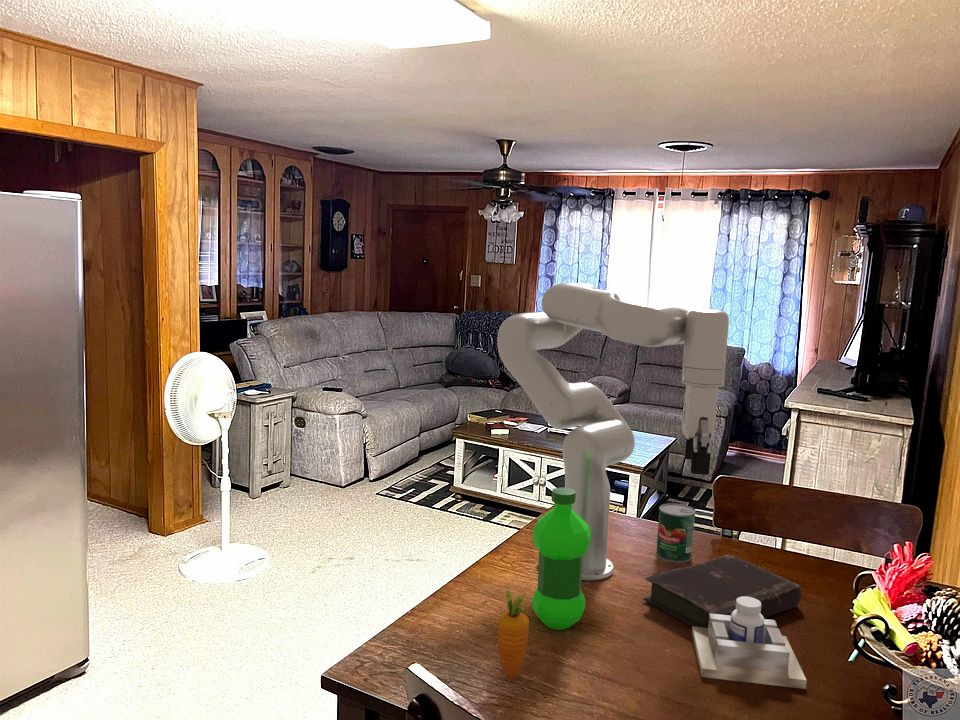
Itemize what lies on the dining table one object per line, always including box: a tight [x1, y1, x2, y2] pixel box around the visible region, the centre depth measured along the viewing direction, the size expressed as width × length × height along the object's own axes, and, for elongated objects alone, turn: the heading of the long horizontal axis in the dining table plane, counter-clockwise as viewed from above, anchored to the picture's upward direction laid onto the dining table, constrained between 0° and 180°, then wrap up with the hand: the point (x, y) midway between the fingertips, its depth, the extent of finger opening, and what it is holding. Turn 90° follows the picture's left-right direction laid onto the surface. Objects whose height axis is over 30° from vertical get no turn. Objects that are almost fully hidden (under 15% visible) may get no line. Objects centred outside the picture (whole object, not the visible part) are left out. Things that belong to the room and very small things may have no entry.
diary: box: [643, 554, 802, 628], centre depth 147 cm, size 19×25×5 cm
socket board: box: [691, 613, 807, 690], centre depth 126 cm, size 16×14×5 cm
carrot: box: [497, 589, 530, 683], centre depth 117 cm, size 5×5×15 cm
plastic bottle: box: [531, 487, 591, 630], centre depth 136 cm, size 10×10×25 cm
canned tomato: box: [655, 503, 696, 564], centre depth 169 cm, size 8×8×11 cm
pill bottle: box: [730, 596, 764, 644], centre depth 126 cm, size 5×5×9 cm
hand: (696, 466), depth 141 cm, fingers open, 9 cm apart
